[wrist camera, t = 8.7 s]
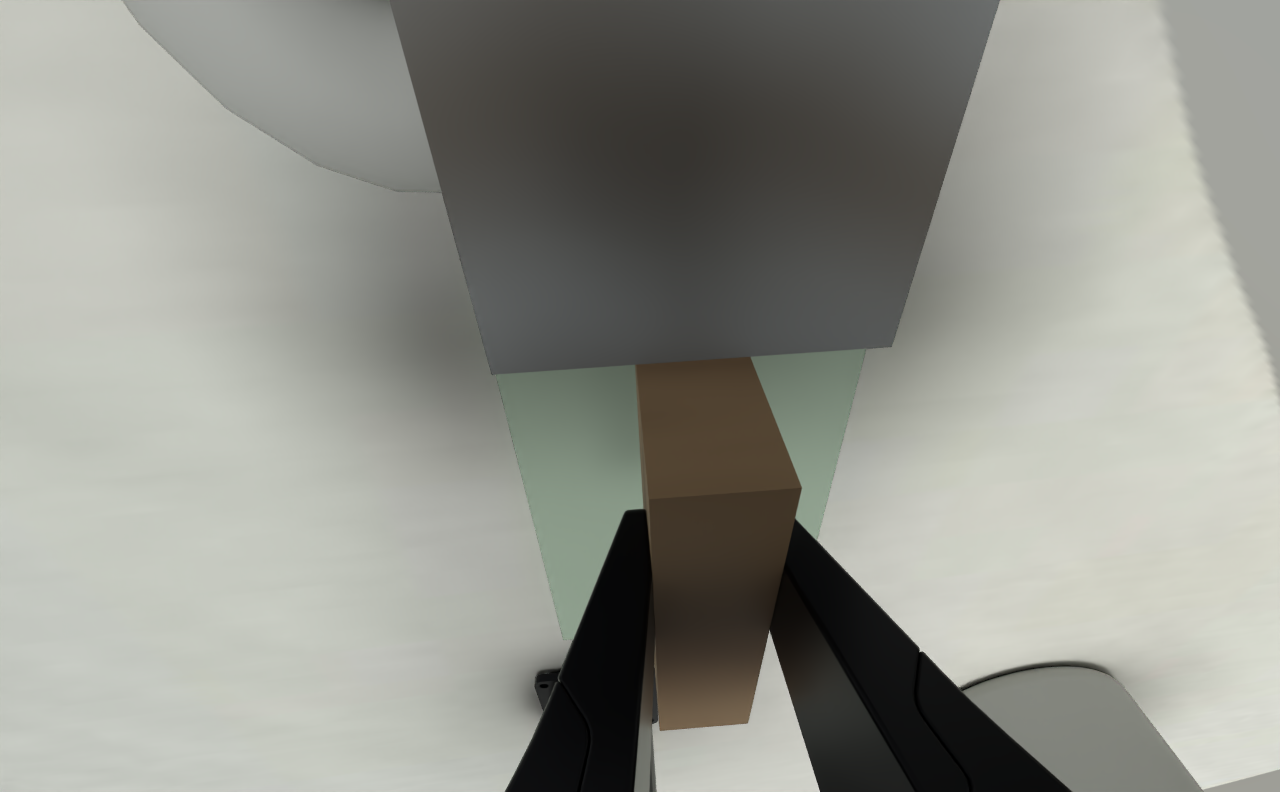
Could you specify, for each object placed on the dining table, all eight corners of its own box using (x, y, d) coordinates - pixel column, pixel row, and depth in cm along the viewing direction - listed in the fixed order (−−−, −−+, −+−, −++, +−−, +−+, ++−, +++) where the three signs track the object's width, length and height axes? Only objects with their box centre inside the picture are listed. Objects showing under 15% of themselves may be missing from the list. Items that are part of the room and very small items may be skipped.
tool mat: (789, 602, 26) (796, 621, 25) (564, 619, 25) (563, 640, 25) (874, 243, 15) (889, 257, 14) (480, 269, 14) (473, 285, 14)
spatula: (803, 560, 15) (857, 714, 12) (559, 580, 15) (548, 739, 12) (986, -123, 6) (1378, -221, 3) (391, -94, 6) (171, -164, 3)
